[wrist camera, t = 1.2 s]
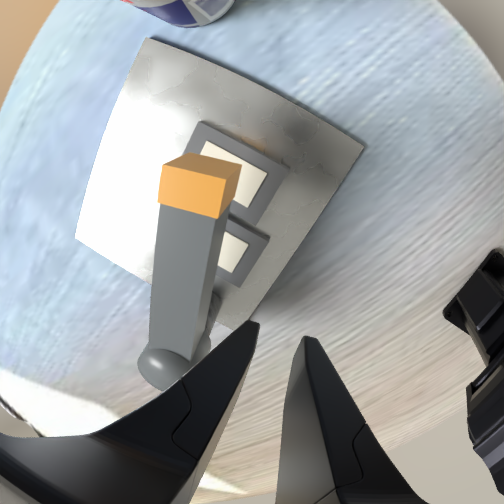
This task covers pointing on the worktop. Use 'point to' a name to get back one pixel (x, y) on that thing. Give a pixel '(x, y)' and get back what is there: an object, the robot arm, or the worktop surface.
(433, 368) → the worktop surface
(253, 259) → the label tile
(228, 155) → the label tile
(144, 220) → the plate
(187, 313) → the swing arm
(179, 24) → the energy drink
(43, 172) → the worktop surface
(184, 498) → the robot arm
